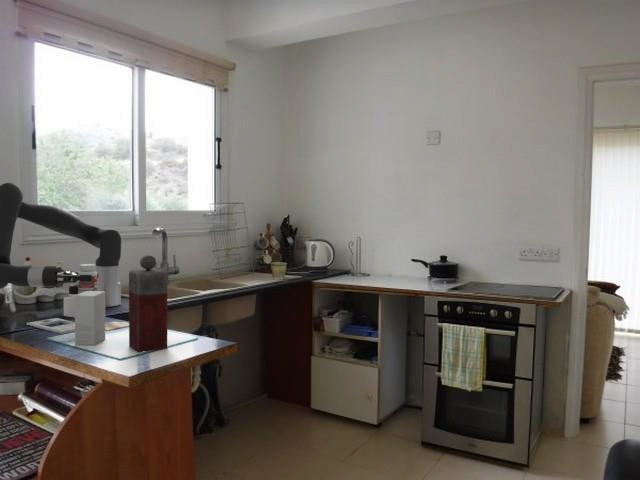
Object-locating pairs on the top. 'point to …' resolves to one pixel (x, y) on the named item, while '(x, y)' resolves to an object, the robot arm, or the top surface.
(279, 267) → the ceramic cup
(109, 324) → the coaster
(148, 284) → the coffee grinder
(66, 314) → the medicine bottle
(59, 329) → the white rectangular panel
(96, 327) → the skincare box
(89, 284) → the pill bottle
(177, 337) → the top surface
